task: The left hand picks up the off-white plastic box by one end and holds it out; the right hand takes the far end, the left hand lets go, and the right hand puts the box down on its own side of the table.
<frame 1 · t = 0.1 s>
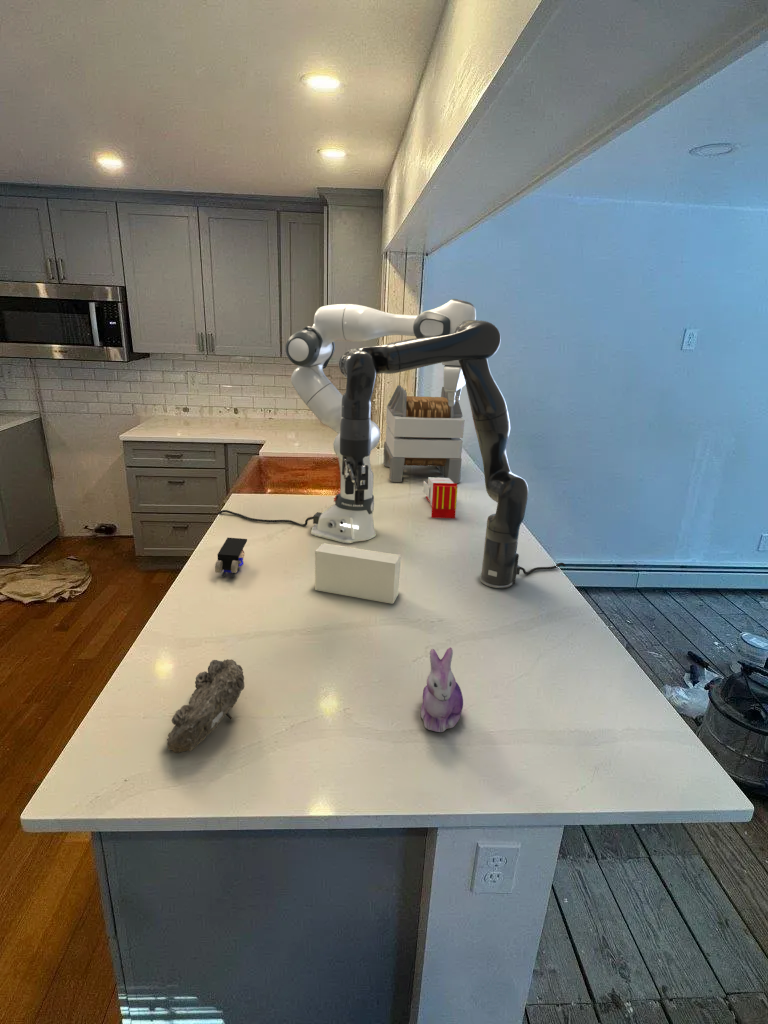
left hand: (453, 403, 174), 48 cm above the counter, tool pointing down, fingers open, 8 cm apart
right hand: (354, 499, 143), 29 cm above the counter, tool pointing down, fingers open, 8 cm apart
transformer: (419, 473, 275), on the counter
fossil: (212, 717, 108), on the counter
box: (356, 592, 158), on the counter
figurine: (440, 718, 111), on the counter
toy: (438, 507, 229), on the counter
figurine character: (232, 569, 168), on the counter
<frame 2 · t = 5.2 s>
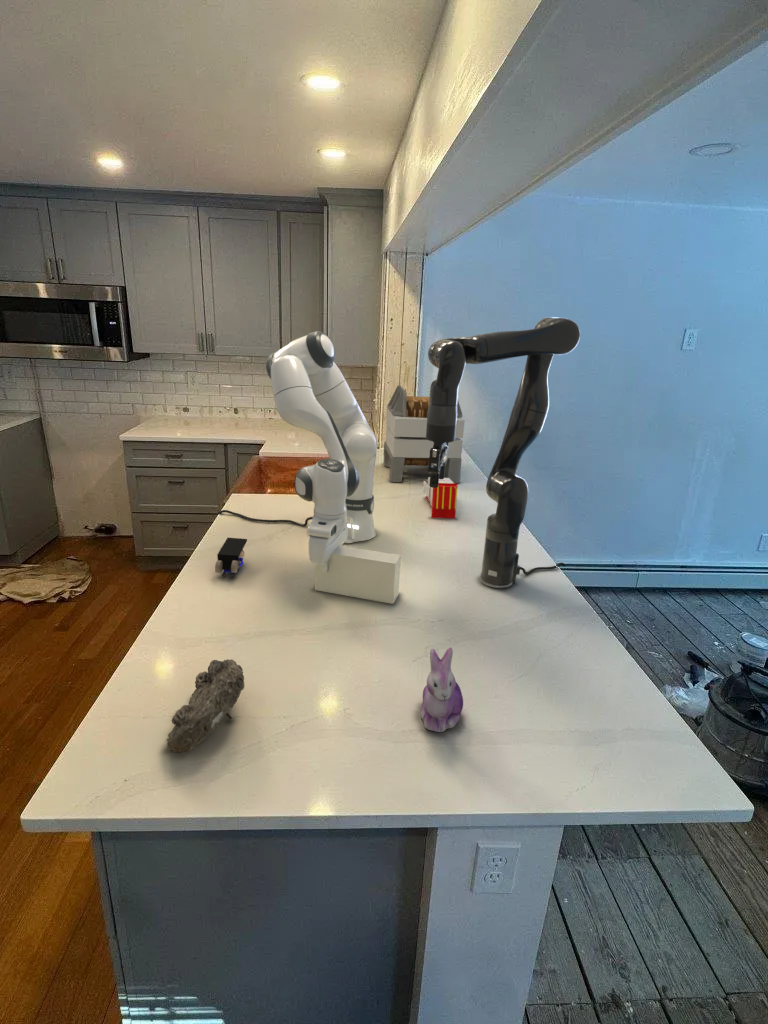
left hand: (329, 566, 158), 7 cm above the counter, tool pointing down, fingers closed on box, 6 cm apart
right hand: (436, 482, 149), 32 cm above the counter, tool pointing down, fingers open, 8 cm apart
box: (356, 592, 158), on the counter, touching left hand
everything else where it was.
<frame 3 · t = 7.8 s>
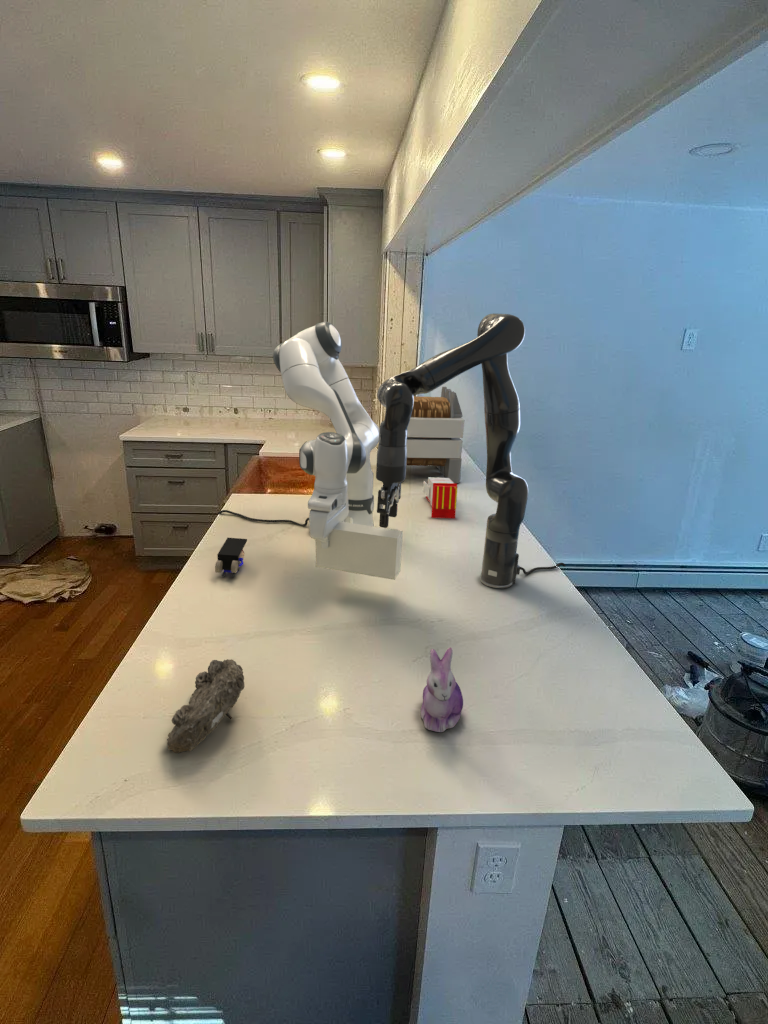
left hand: (330, 542, 155), 14 cm above the counter, tool pointing down, fingers closed on box, 6 cm apart
right hand: (388, 521, 148), 22 cm above the counter, tool pointing down, fingers open, 8 cm apart
box: (357, 568, 155), point 7 cm above the counter, touching left hand
everything else where it was.
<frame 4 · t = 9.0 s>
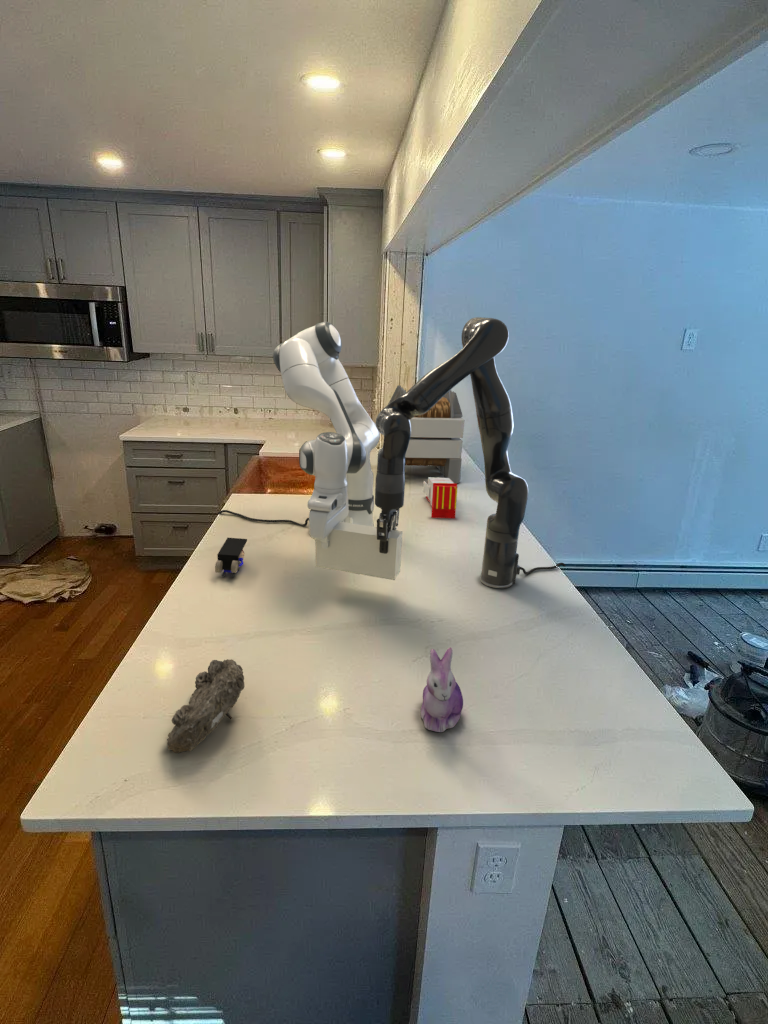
left hand: (330, 542, 155), 14 cm above the counter, tool pointing down, fingers closed on box, 6 cm apart
right hand: (387, 548, 151), 15 cm above the counter, tool pointing down, fingers closed on box, 6 cm apart
box: (357, 569, 155), point 7 cm above the counter, touching left hand, right hand
everything else where it was.
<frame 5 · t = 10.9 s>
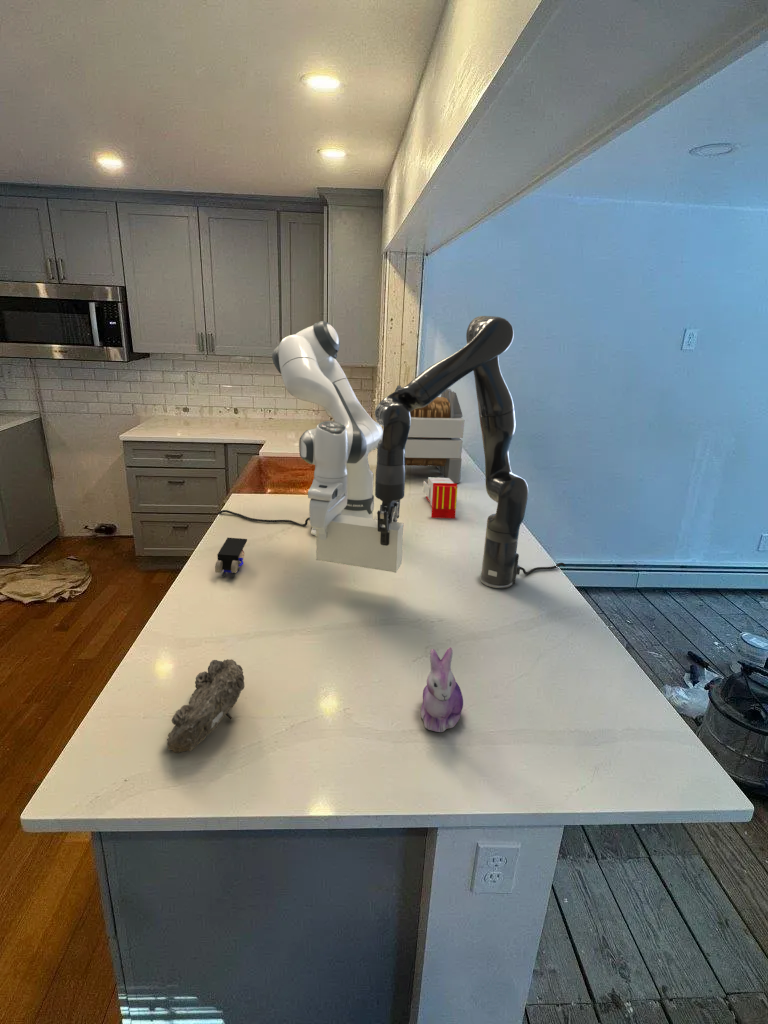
left hand: (329, 532, 155), 17 cm above the counter, tool pointing down, fingers open, 8 cm apart
right hand: (388, 540, 150), 17 cm above the counter, tool pointing down, fingers closed on box, 6 cm apart
box: (358, 561, 155), point 9 cm above the counter, touching right hand
everything else where it was.
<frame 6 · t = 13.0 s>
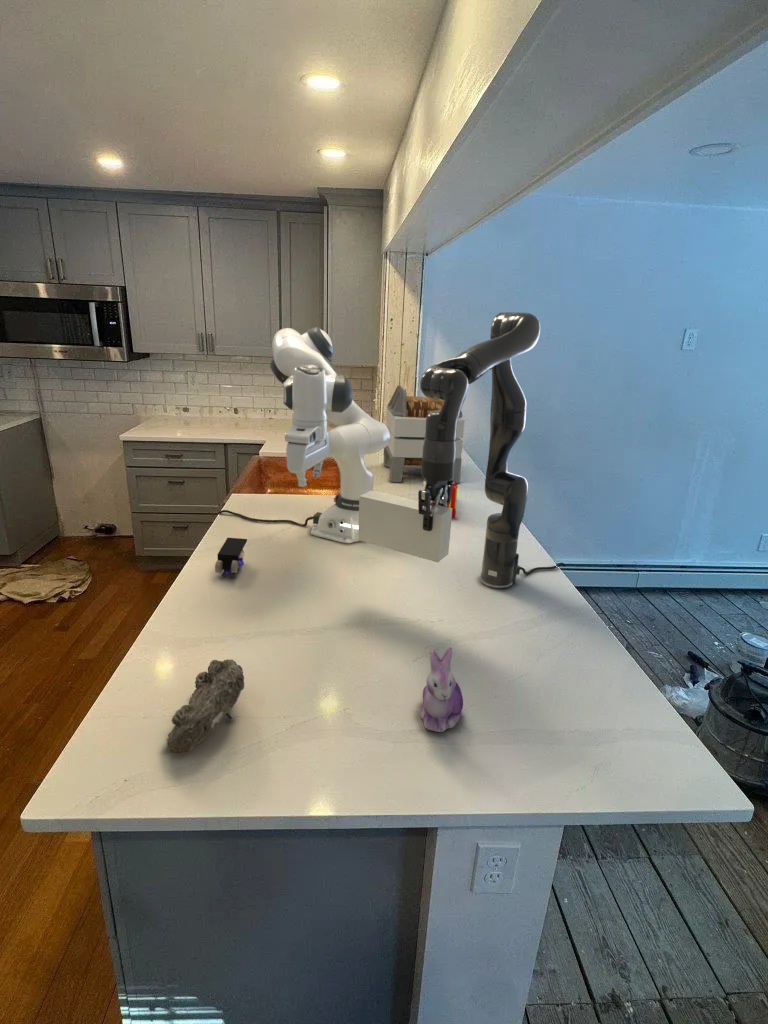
left hand: (309, 481, 151), 31 cm above the counter, tool pointing down, fingers open, 8 cm apart
right hand: (433, 525, 135), 26 cm above the counter, tool pointing down, fingers closed on box, 6 cm apart
box: (402, 547, 141), point 19 cm above the counter, touching right hand
everything else where it was.
when the right hand's fingers open (9 cm above the counter, at t = 16.8 s): box drops 1 cm, on the counter.
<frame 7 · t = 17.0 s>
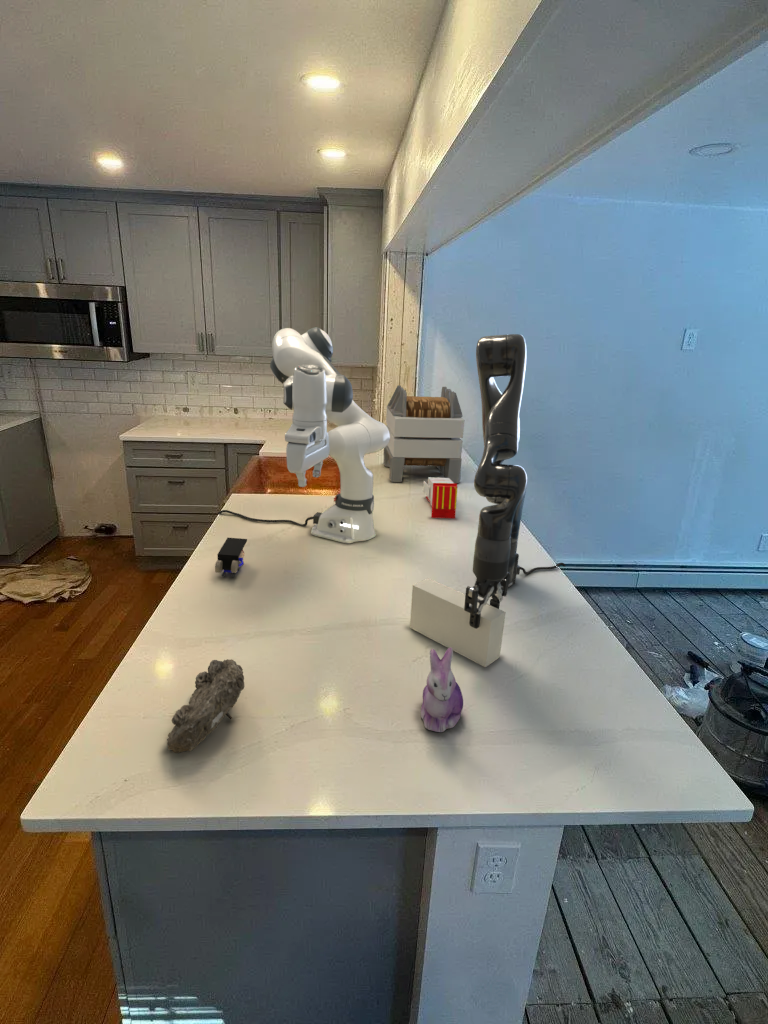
left hand: (309, 481, 151), 31 cm above the counter, tool pointing down, fingers open, 8 cm apart
right hand: (484, 620, 128), 9 cm above the counter, tool pointing down, fingers open, 7 cm apart
box: (453, 642, 136), on the counter
everything else where it was.
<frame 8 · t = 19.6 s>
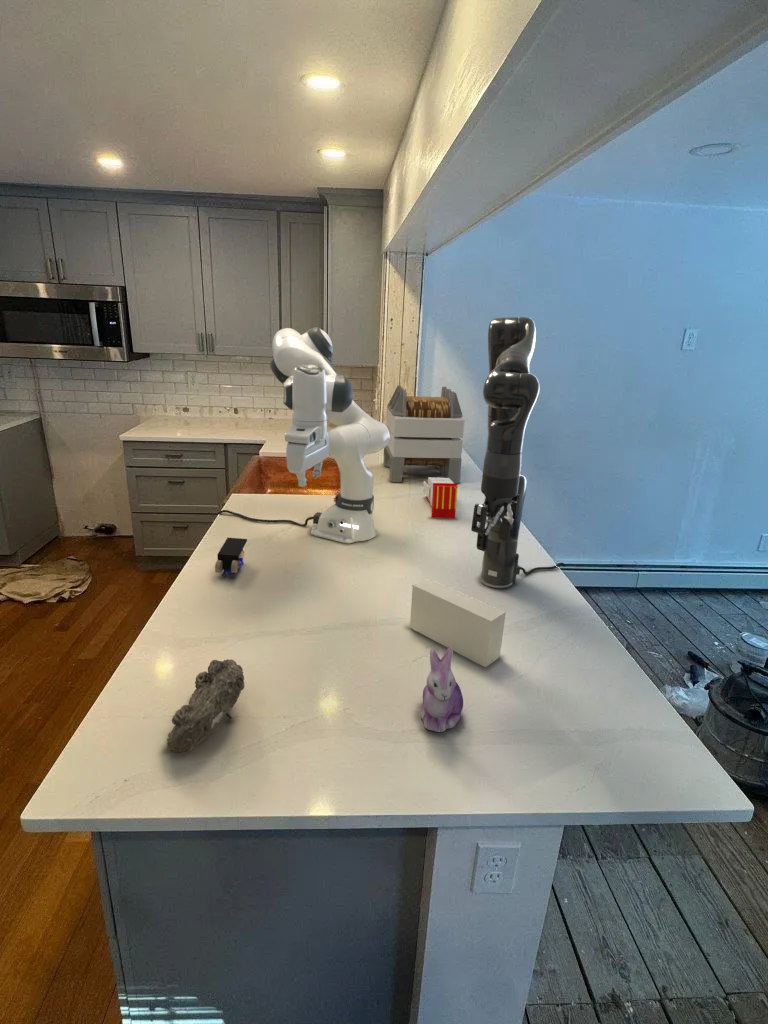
left hand: (309, 481, 151), 31 cm above the counter, tool pointing down, fingers open, 8 cm apart
right hand: (492, 544, 122), 28 cm above the counter, tool pointing down, fingers open, 8 cm apart
nothing on the counter moved.
at the end: box inside the target area (7.8 cm from its centre), on the counter; the left hand is holding nothing; the right hand is holding nothing; box at rest at the end (0.0 cm/s) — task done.
